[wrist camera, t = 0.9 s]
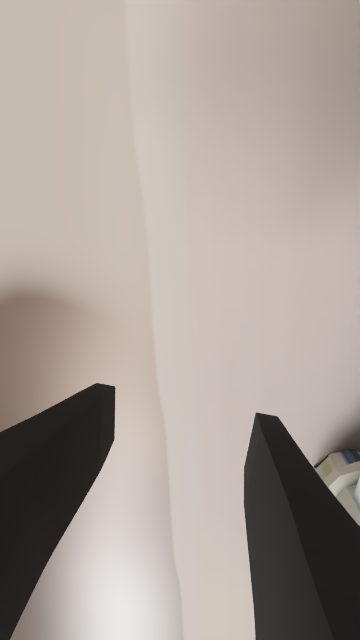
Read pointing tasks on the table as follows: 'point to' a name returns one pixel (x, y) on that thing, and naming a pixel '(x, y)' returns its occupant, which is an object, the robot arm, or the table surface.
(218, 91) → the table surface
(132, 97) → the table surface
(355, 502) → the white tube
